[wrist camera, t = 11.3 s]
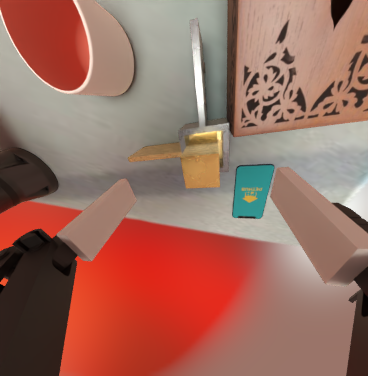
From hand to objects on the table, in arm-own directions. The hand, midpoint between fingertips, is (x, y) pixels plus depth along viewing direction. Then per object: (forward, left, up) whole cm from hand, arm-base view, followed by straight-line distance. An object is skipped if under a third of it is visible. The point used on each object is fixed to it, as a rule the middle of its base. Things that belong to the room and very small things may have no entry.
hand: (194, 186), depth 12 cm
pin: (0, 0, -14) cm, 14 cm away
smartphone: (+10, -14, -18) cm, 24 cm away
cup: (-15, +15, -17) cm, 27 cm away
